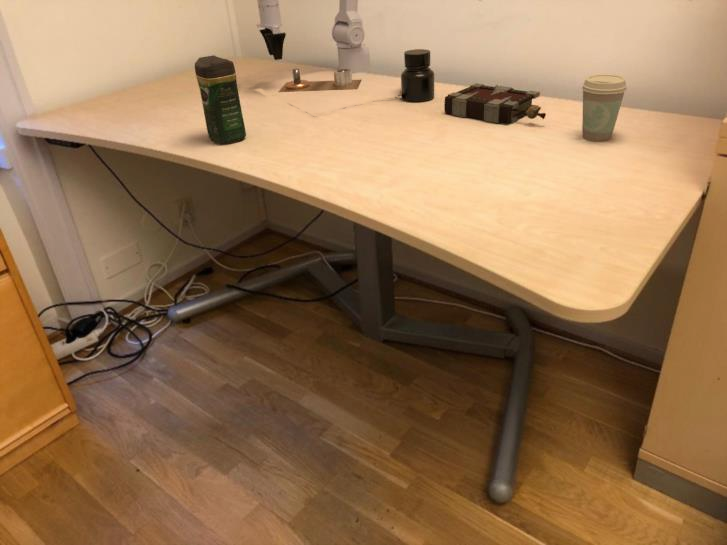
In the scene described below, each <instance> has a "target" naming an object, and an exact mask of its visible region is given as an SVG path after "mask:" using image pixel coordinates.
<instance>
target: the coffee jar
mask: <svg viewBox="0 0 727 545" xmlns="http://www.w3.org/2000/svg"><path fill="white" fill-rule="evenodd" d="M194 71H195V77H196V81H197V86H198V87H199V94H200V97H201V102H202V103H201V104H202V107H203V115H204V120H205V125H206V131H207V135H208V138H209V139H210V140H211V141H213V142H215V143H218V144H228V143H229V144H233V143H238V142H239V141H241V140H243V139H245V138H246V136H247V132H246V125H245V120H244V117H243V116H244V115H243V111H242V105H241V101H240V96H239V95H240V94H239V89H238V84H237V83H238V82H237V73H236V69H235V65H234V62H233V61H232V60H229V59H227V58H223V57H219V56H216V55H215V54H214V55H207V56H201V57H198V59H197V60H196V61H195V63H194Z"/></svg>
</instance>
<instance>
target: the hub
mask: <svg viewBox="0 0 727 545" xmlns="http://www.w3.org/2000/svg"><path fill="white" fill-rule="evenodd" d="M292 77H293V80H291V81H287V82H288V83H286V82H285V83H286V88H287V89H292V90H296V89H303V88H307V87H309V82H310V81H309V80H305V79H301V73H300V68H293V69H292Z"/></svg>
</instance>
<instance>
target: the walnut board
mask: <svg viewBox="0 0 727 545" xmlns="http://www.w3.org/2000/svg"><path fill="white" fill-rule="evenodd" d="M288 82H289V81H287V82H285V83H284V84H283V86H281V88H280V89H279V90H278V91H277V92H278V93H290V92H291V93H293V92H296V93H297V92H317V91H318V92H319V91H348V90H352V91H353V90H358V89H359V87H360V84H361V82H362V79H352V85H351V86H347V87H336V86H335V80H318V81H316V80H314V81H309V87H307V88H303V89H296V90H292V89H287V88H286V83H288Z"/></svg>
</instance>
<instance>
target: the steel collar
mask: <svg viewBox="0 0 727 545" xmlns="http://www.w3.org/2000/svg"><path fill="white" fill-rule="evenodd" d="M340 70H346V71H345V72H339V71H340ZM333 78H334V80H333V81H335V86H336V87H347V86H351V85H352V80H353V74H352V73H351V69H339V68H337V69H334V70H333Z"/></svg>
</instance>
